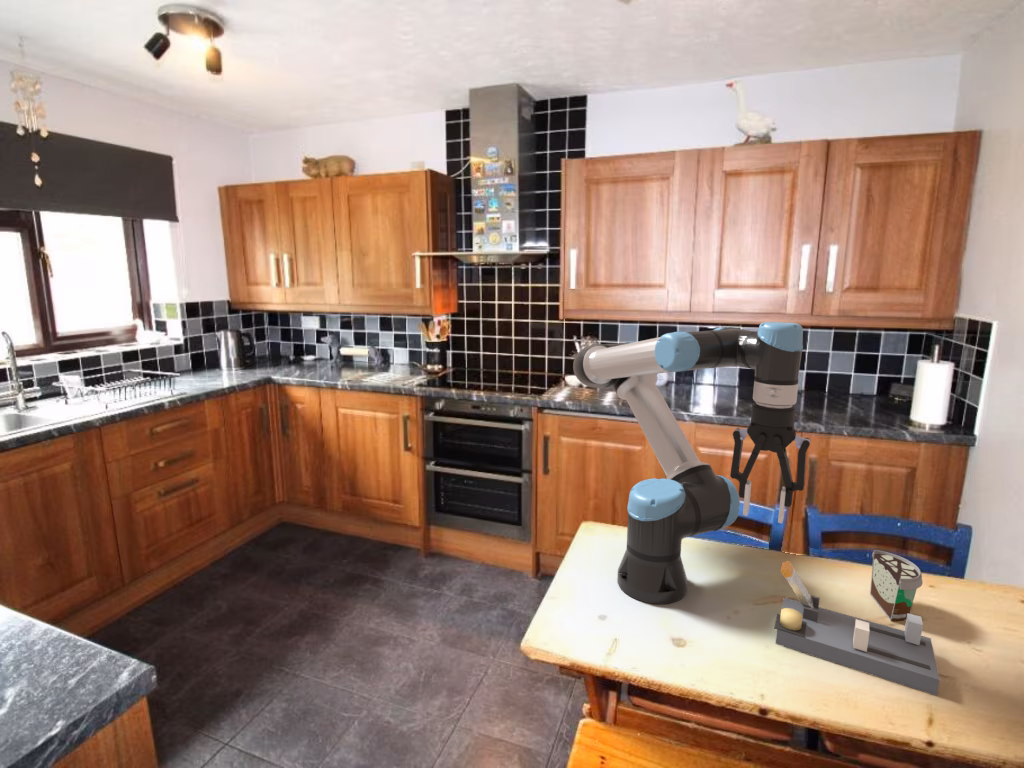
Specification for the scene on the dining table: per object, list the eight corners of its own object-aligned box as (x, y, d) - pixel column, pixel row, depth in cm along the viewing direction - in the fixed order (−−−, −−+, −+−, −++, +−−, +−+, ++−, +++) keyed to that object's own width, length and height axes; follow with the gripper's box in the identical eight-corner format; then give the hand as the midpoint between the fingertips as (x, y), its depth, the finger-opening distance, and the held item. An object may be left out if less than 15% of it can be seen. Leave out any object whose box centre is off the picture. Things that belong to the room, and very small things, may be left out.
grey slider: (905, 641, 95) (908, 621, 94) (904, 632, 98) (907, 613, 97) (919, 645, 94) (922, 625, 93) (917, 636, 97) (921, 616, 96)
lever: (808, 616, 102) (780, 571, 104) (809, 606, 106) (782, 562, 107) (815, 614, 102) (787, 568, 103) (816, 604, 105) (789, 560, 106)
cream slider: (853, 647, 94) (855, 627, 93) (853, 638, 96) (855, 619, 95) (866, 651, 93) (869, 631, 92) (866, 642, 95) (869, 622, 94)
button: (778, 626, 100) (779, 615, 99) (781, 616, 102) (782, 605, 102) (800, 632, 98) (801, 622, 97) (802, 622, 101) (803, 612, 100)
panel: (772, 642, 100) (775, 618, 99) (779, 609, 110) (782, 586, 109) (936, 695, 87) (941, 668, 86) (928, 652, 97) (932, 627, 96)
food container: (929, 629, 103) (937, 583, 101) (894, 626, 105) (901, 580, 103) (898, 593, 115) (904, 551, 113) (866, 590, 116) (872, 548, 115)
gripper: (718, 401, 103) (710, 512, 107) (829, 414, 93) (815, 536, 98) (726, 394, 109) (717, 499, 114) (831, 405, 99) (817, 520, 104)
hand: (763, 516), depth 106 cm, fingers open, 6 cm apart
